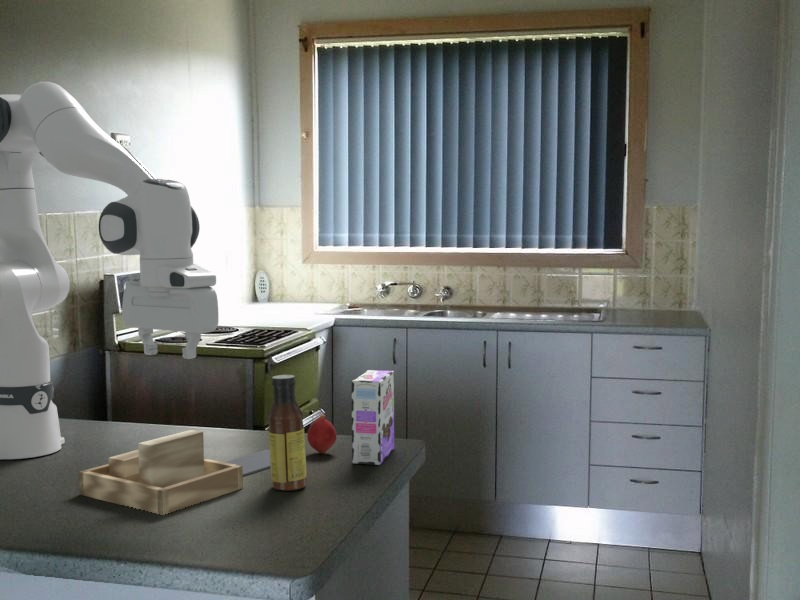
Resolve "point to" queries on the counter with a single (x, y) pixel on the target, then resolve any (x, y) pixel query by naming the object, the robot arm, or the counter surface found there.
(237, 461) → the felt pad
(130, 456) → the offcut beech
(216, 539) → the counter surface
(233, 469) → the wooden tray
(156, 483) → the pale wooden block
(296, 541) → the counter surface
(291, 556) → the counter surface
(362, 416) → the candy box
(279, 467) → the sauce bottle
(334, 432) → the onion
